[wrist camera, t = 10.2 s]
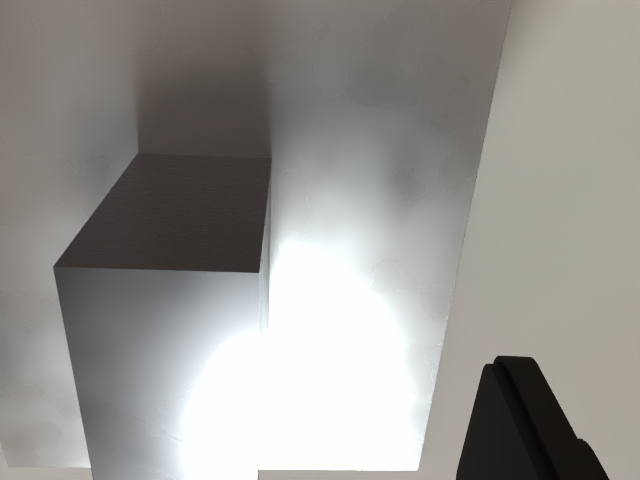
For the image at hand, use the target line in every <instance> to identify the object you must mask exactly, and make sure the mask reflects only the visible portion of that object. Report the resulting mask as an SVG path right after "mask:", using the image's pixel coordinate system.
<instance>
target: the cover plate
mask: <svg viewBox="0 0 640 480" xmlns="http://www.w3.org/2000/svg"><path fill="white" fill-rule="evenodd" d="M511 4H512V0H0V440H1V444H2V447H3V450H4V454H5V457H6V461H7V464H8V467H83V468H91V471H92V476H93V480H258V478H259V469H310V470H418V466H419V461H420V456H421V451H422V446H423V441H424V436H425V431H426V426H427V421H428V416H429V411H430V406H431V401H432V396H433V391H434V386H435V381H436V376H437V371H438V366H439V362H440V357H441V352H442V347H443V342H444V337H445V332H446V327H447V322H448V317H449V312H450V307H451V302H452V297H453V292H454V287H455V282H456V277H457V272H458V267H459V262H460V257H461V252H462V247H463V242H464V237H465V232H466V227H467V222H468V217H469V212H470V207H471V202H472V197H473V192H474V188H475V183H476V178H477V173H478V168H479V163H480V158H481V153H482V148H483V143H484V138H485V133H486V128H487V123H488V118H489V113H490V108H491V103H492V98H493V93H494V88H495V83H496V78H497V73H498V68H499V63H500V58H501V53H502V48H503V43H504V38H505V33H506V28H507V23H508V19H509V14H510V9H511Z"/></svg>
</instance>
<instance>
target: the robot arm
mask: <svg viewBox="0 0 640 480" xmlns="http://www.w3.org/2000/svg"><path fill="white" fill-rule="evenodd" d="M456 480H609V478H608V476H607V474H606V473H605V471H604V469H603V467H602V465H601V464H600V462H599V460H598V458H597V456H596V455H595V453H594V451H593V450H592V448H591V447H590V446H589V444H588V443H587V442H585V441H584V440H583V439H578V438H577V436H576V435H575V433H574V431H573V429H572V427H571V425H570V424H569V422H568V420H567V418H566V416H565V414H564V412H563V411H562V409H561V407H560V405H559V403H558V401H557V400H556V398H555V396H554V394H553V392H552V390H551V388H550V387H549V385H548V383H547V381H546V379H545V377H544V375H543V374H542V372H541V370H540V368H539V366H538V364H537V363H536V361H535V360H534V359H533V358H531V357H518V356H497V357H496V359H495V360H494V363H493V364H486V365H485V366H484V368H483V371H482V375H481V379H480V383H479V387H478V391H477V395H476V399H475V403H474V406H473V410H472V414H471V418H470V422H469V426H468V430H467V434H466V438H465V442H464V446H463V450H462V454H461V457H460V461H459V465H458V469H457V475H456Z"/></svg>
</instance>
